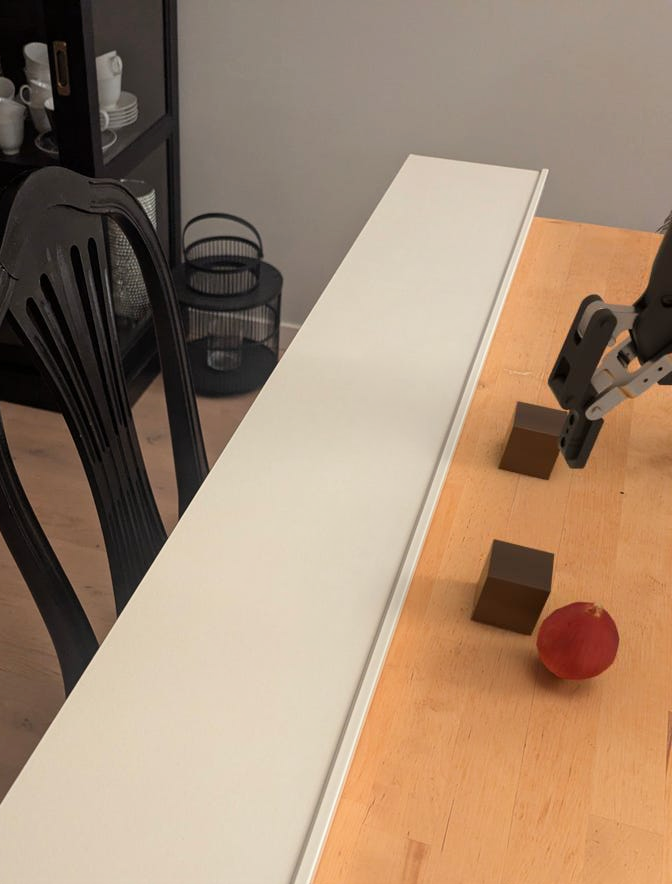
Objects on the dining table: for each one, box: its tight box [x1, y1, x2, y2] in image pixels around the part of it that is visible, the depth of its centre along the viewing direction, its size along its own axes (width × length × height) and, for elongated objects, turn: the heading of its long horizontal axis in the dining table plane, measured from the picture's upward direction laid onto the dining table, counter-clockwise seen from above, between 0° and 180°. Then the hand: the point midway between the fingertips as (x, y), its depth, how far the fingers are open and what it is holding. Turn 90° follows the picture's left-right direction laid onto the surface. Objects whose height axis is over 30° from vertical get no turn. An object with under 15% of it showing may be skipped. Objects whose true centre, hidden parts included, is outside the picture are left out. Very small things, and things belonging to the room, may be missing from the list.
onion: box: [535, 601, 620, 681], centre depth 70 cm, size 6×6×8 cm
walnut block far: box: [497, 400, 569, 480], centre depth 92 cm, size 5×5×5 cm
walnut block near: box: [470, 538, 555, 636], centre depth 76 cm, size 5×5×5 cm
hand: (636, 462), depth 58 cm, fingers open, 8 cm apart
